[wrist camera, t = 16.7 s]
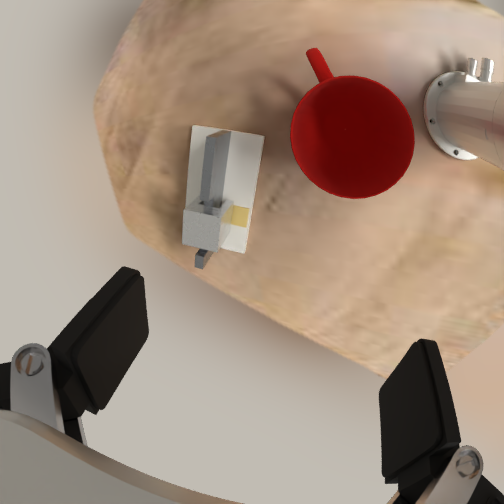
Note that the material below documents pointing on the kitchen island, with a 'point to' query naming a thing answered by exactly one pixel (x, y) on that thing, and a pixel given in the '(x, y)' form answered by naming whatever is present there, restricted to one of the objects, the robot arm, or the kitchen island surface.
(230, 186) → the base board
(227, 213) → the clip
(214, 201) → the rail
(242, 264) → the kitchen island surface
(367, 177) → the ceramic cup
